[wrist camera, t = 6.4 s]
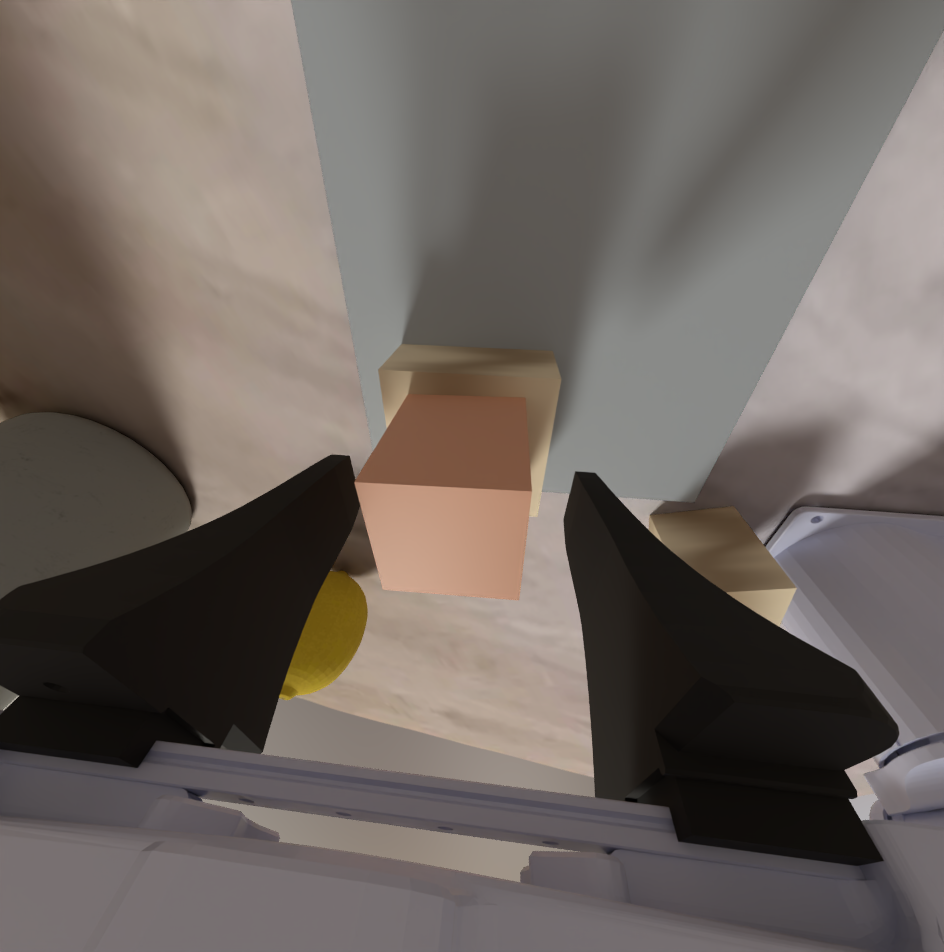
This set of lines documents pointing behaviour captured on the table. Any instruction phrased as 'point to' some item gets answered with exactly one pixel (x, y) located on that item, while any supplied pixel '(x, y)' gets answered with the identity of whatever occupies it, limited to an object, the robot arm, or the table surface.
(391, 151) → the board
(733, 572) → the birch block
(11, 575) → the water bottle
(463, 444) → the terracotta block
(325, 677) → the lemon
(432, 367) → the block
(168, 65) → the table surface
